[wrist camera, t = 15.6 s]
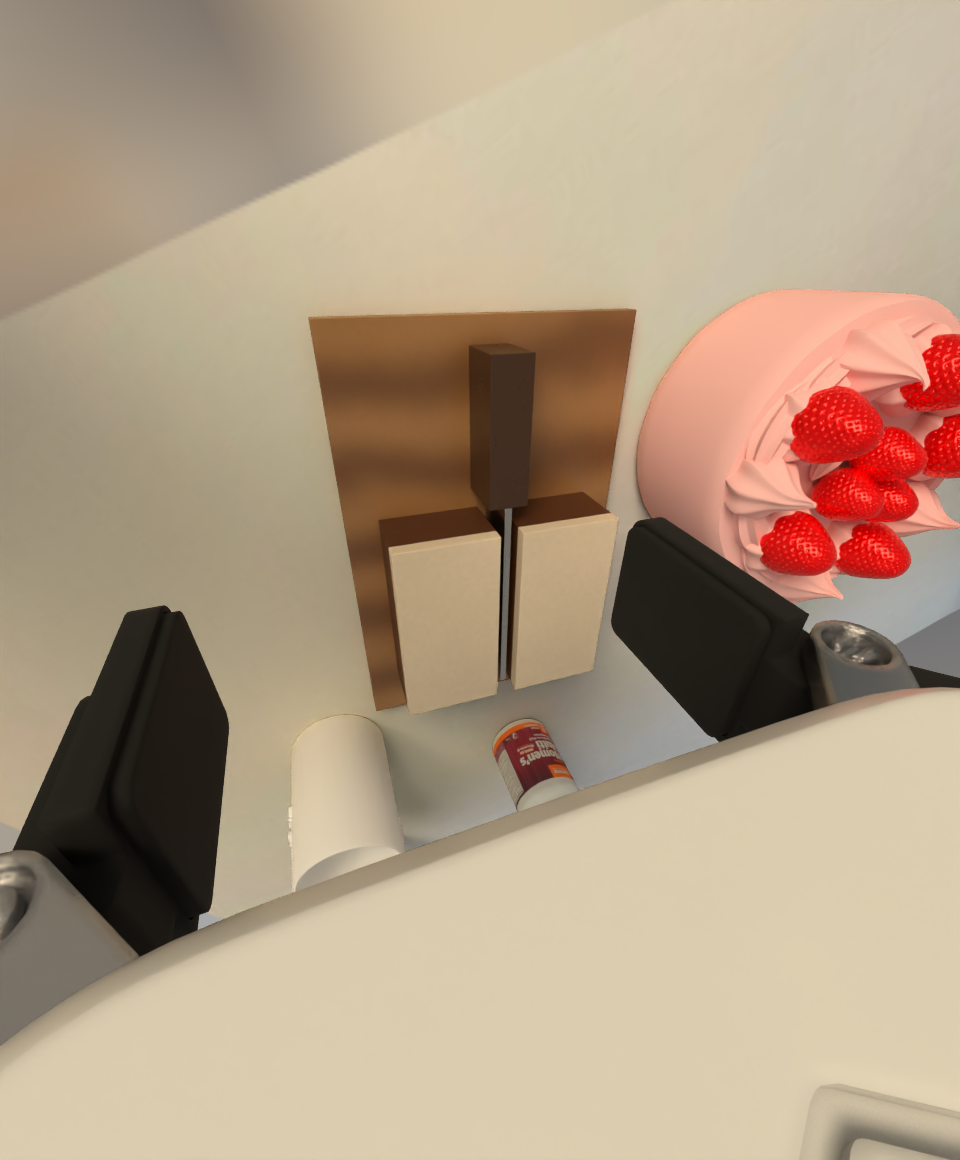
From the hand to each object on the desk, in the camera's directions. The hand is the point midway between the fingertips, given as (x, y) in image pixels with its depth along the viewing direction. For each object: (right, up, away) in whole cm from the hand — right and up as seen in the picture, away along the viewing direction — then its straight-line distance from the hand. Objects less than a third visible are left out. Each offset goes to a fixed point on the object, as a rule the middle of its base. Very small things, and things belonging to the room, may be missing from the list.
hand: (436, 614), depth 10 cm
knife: (+1, +5, +25) cm, 26 cm away
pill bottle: (+5, -16, +41) cm, 45 cm away
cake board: (+1, +4, +27) cm, 27 cm away
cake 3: (+22, +13, +29) cm, 39 cm away
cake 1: (-3, 0, +27) cm, 27 cm away
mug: (-11, -16, +35) cm, 40 cm away
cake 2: (+5, +1, +29) cm, 30 cm away
